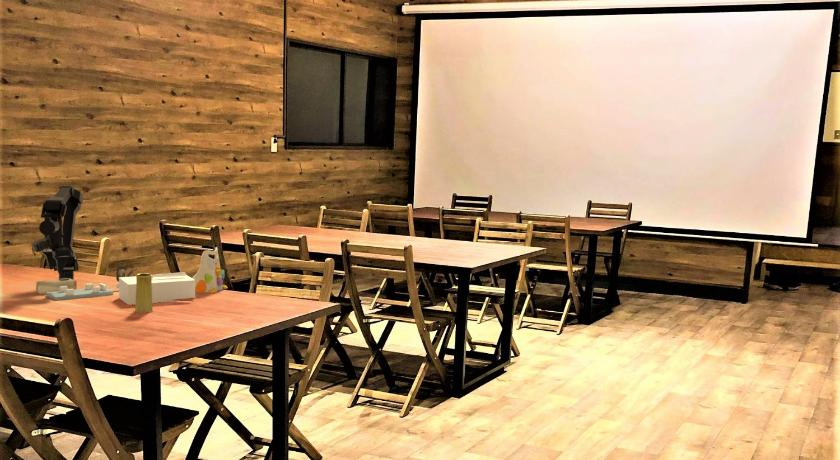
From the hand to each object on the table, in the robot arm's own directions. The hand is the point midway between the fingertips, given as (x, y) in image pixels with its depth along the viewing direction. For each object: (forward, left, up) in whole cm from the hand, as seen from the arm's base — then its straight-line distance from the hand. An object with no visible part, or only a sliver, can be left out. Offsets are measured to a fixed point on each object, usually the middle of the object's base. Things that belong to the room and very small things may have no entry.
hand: (55, 271), depth 341 cm
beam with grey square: (0, 0, -8) cm, 8 cm away
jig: (+12, +5, -8) cm, 15 cm away
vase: (+53, +12, -8) cm, 55 cm away
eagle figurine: (+9, +24, -8) cm, 27 cm away
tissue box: (+34, +26, -9) cm, 44 cm away
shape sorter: (+30, +51, -8) cm, 60 cm away
